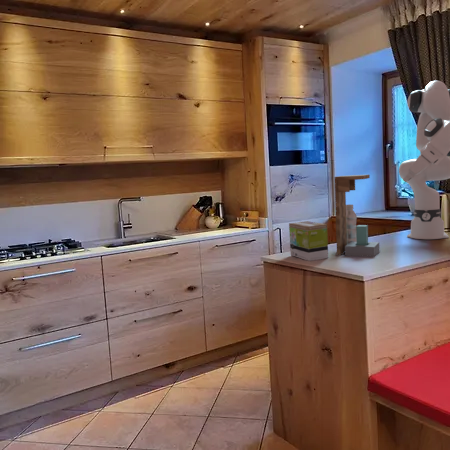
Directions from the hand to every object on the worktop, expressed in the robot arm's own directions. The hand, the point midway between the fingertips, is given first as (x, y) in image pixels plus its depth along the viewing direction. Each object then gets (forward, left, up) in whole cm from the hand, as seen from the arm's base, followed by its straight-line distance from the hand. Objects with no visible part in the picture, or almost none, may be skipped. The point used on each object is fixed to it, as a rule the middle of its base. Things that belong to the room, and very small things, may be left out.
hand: (405, 180), depth 190 cm
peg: (+6, -17, -30) cm, 35 cm away
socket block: (+6, -17, -30) cm, 35 cm away
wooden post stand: (+6, -21, -30) cm, 37 cm away
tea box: (+18, -37, -31) cm, 51 cm away
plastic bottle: (-6, -25, -31) cm, 40 cm away
